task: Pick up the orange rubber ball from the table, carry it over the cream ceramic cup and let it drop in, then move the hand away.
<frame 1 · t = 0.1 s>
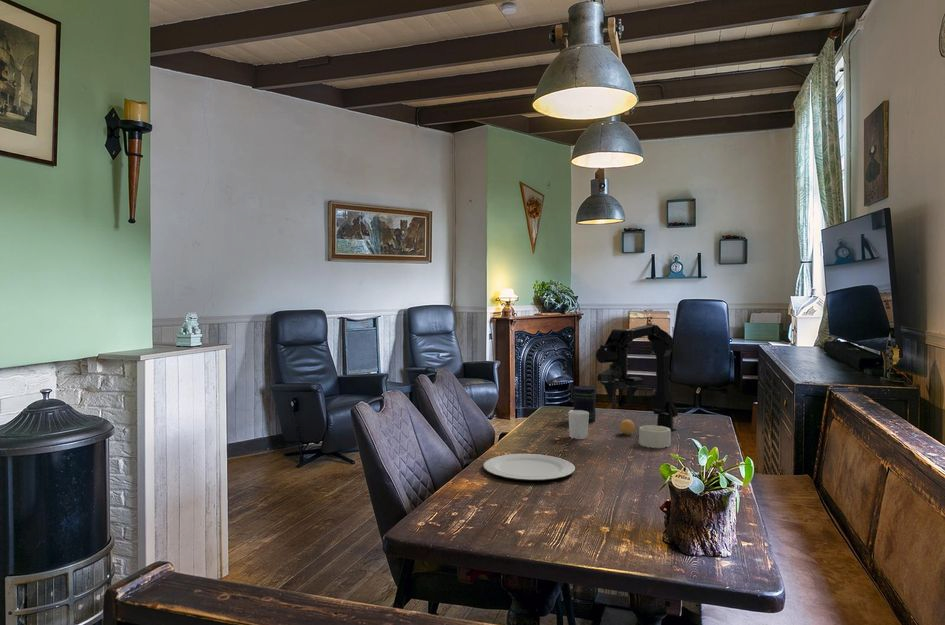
hand: (619, 401, 243), 14 cm above the table, tool pointing down, fingers open, 9 cm apart
white cup: (578, 437, 245), on the table
cup: (654, 444, 234), on the table
ball: (627, 427, 250), point 3 cm above the table
plate: (528, 471, 199), on the table
storage jar: (584, 421, 276), on the table
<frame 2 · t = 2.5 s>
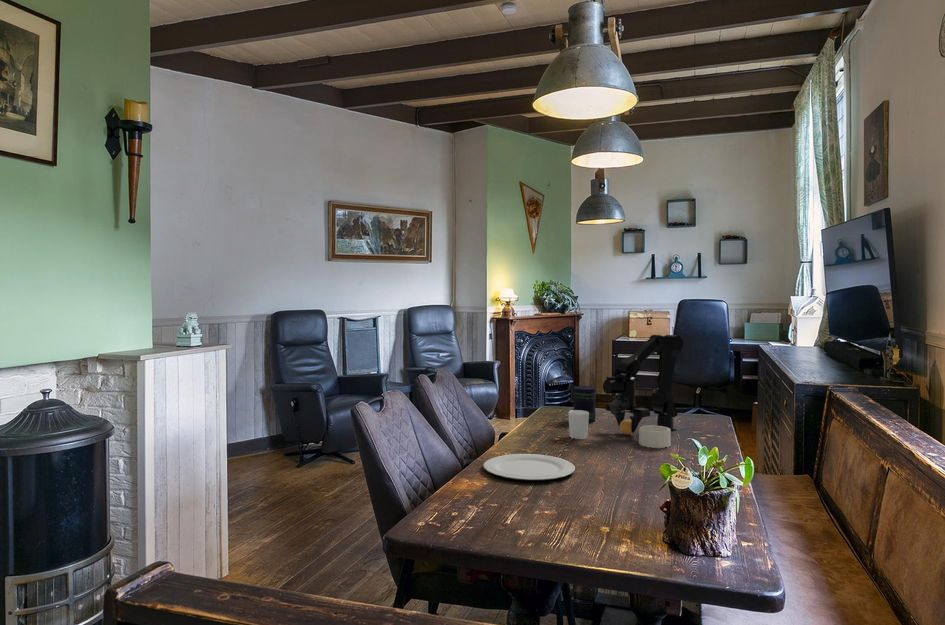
hand: (627, 431, 251), 1 cm above the table, tool pointing down, fingers closed on ball, 6 cm apart
ball: (627, 427, 250), point 3 cm above the table, touching gripper
everything else where it was.
when the fingers open (9 cm above the table, at t = 6.4 s): ball drops 7 cm, resting on cup.
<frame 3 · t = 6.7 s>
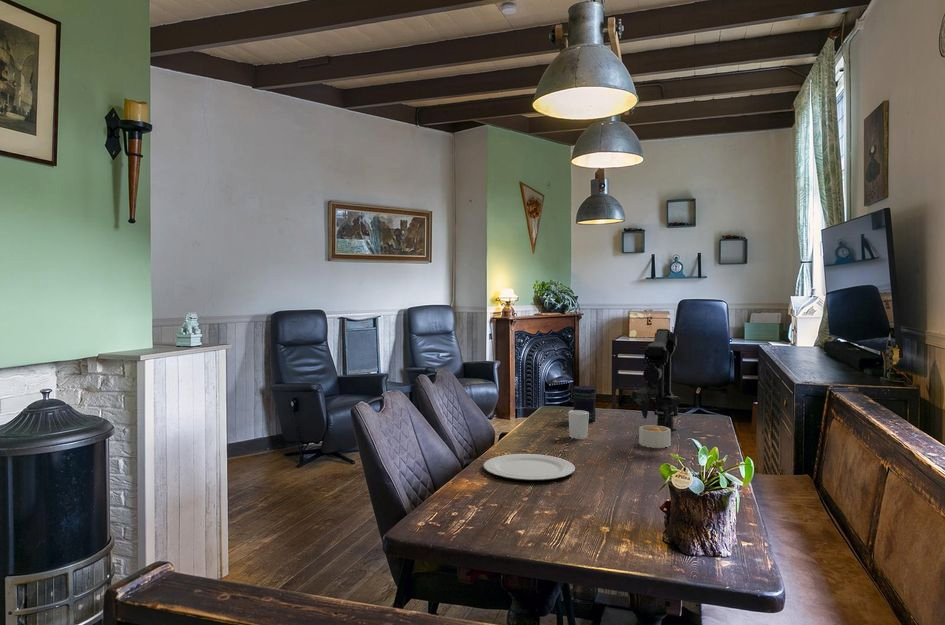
hand: (655, 420, 234), 9 cm above the table, tool pointing down, fingers open, 9 cm apart
ball: (654, 434, 234), point 4 cm above the table, touching cup
everything else where it was.
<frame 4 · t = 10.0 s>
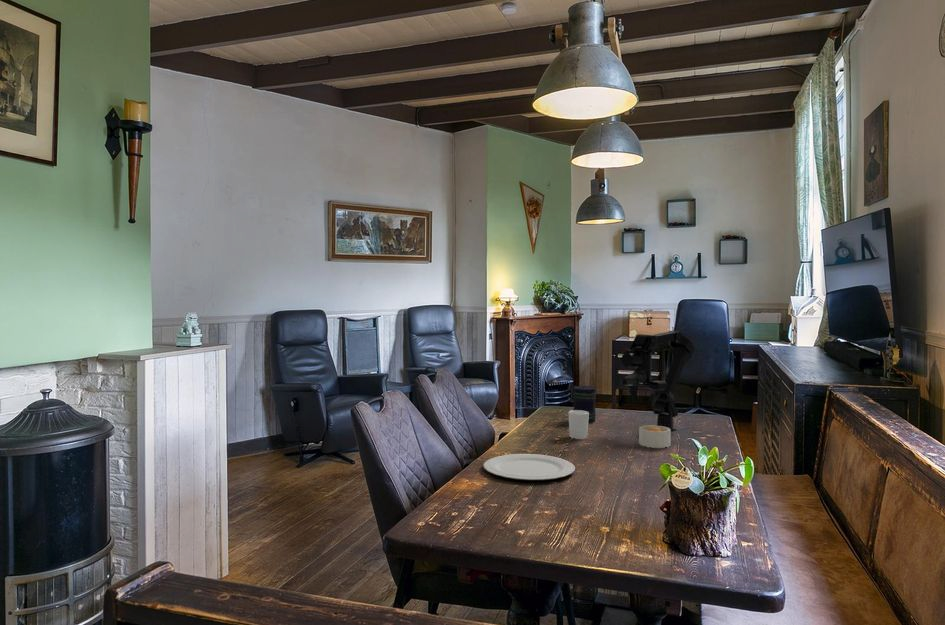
hand: (643, 404, 251), 12 cm above the table, tool pointing down, fingers open, 9 cm apart
nothing on the table moved.
at the end: ball inside the target area on the cup (0.1 cm from its centre), point 3.6 cm above the cup's base; the gripper is holding nothing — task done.
